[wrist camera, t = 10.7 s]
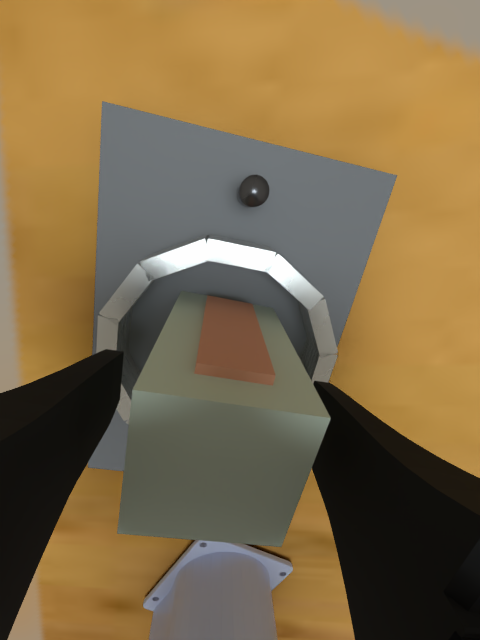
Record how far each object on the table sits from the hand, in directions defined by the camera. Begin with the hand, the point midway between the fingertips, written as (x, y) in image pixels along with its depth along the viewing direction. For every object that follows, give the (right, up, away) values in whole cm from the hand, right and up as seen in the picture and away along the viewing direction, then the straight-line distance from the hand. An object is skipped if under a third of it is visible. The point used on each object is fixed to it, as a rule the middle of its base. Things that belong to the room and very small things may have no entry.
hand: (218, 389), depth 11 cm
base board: (0, +2, +5) cm, 5 cm away
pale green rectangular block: (0, +2, +4) cm, 4 cm away
